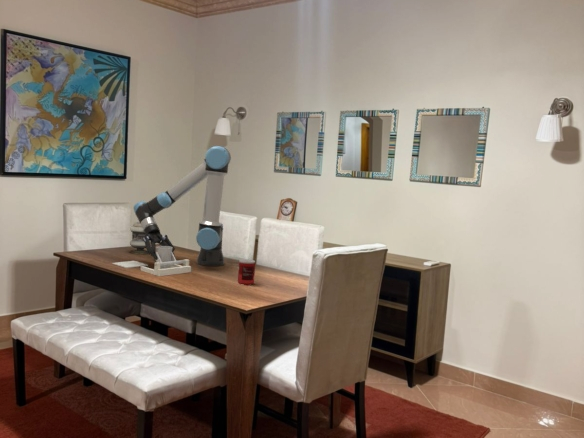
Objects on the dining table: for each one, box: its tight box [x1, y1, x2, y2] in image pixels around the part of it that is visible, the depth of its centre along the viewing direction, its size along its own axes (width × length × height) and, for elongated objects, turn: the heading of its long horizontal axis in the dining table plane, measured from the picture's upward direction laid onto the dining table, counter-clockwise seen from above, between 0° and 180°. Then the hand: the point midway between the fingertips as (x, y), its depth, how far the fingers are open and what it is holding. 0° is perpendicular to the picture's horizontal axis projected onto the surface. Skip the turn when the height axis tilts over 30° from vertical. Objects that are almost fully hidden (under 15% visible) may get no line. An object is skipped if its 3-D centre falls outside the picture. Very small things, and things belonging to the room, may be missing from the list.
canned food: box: [237, 258, 256, 286], centre depth 256 cm, size 8×8×11 cm
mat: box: [112, 260, 149, 269], centre depth 282 cm, size 13×13×1 cm
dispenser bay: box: [140, 258, 192, 277], centre depth 271 cm, size 16×20×6 cm
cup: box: [156, 245, 173, 269], centre depth 272 cm, size 8×8×12 cm
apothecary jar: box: [129, 221, 151, 255], centre depth 318 cm, size 12×12×18 cm
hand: (167, 263), depth 270 cm, fingers closed on cup, 8 cm apart
